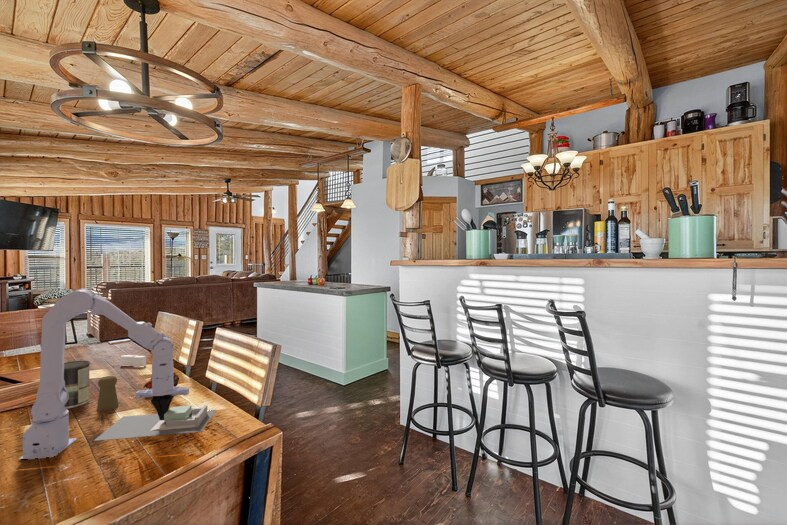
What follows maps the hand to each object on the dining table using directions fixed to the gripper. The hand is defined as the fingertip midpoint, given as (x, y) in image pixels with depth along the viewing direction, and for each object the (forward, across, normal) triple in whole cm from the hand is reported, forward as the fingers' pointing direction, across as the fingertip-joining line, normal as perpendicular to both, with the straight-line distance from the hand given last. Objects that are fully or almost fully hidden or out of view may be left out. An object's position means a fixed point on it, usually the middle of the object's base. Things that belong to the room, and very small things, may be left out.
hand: (163, 418), depth 114 cm
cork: (+2, +24, -17) cm, 29 cm away
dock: (+2, +1, 0) cm, 2 cm away
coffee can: (+2, +39, -24) cm, 46 cm away
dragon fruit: (+2, +12, -30) cm, 32 cm away
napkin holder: (+2, +39, -69) cm, 79 cm away
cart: (+1, -4, 0) cm, 4 cm away
